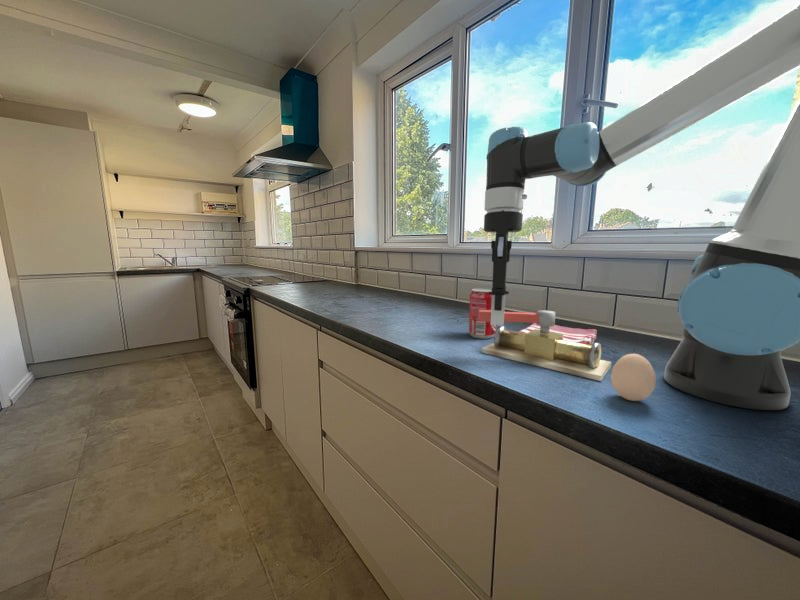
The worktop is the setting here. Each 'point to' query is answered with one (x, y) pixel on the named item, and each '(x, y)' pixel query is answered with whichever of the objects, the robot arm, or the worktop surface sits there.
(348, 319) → the worktop surface
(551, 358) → the valve body
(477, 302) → the soda can
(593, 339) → the dish towel
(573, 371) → the valve board
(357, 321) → the worktop surface
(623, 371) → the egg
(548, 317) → the lever
